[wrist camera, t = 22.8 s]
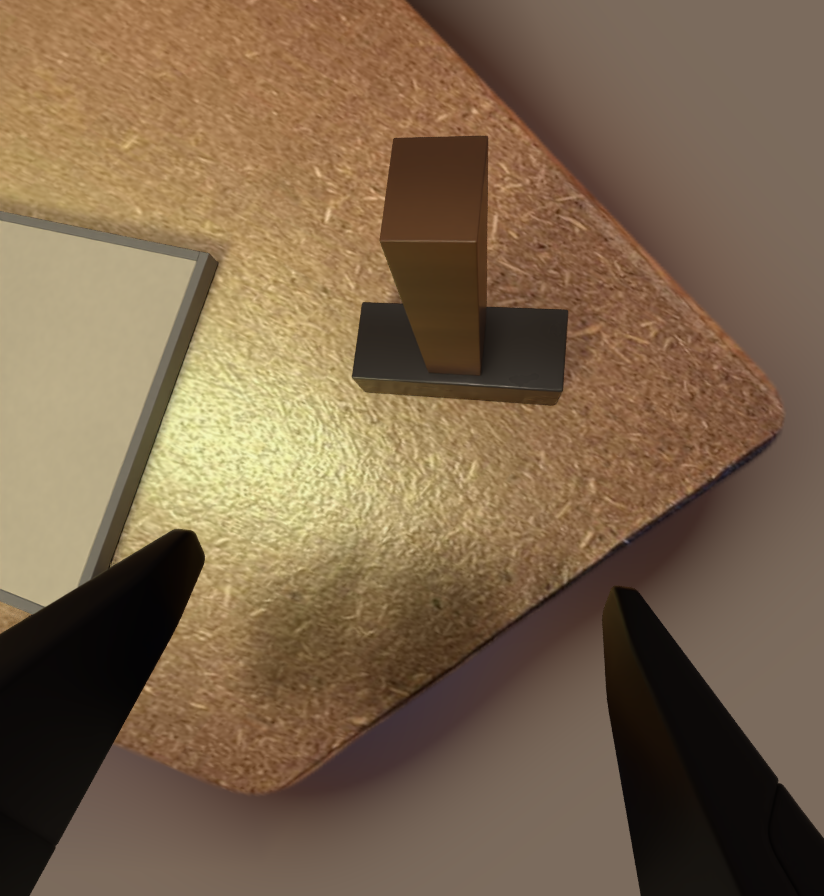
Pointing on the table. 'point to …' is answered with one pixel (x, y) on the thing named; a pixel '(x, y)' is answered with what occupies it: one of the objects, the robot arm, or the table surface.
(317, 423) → the table surface
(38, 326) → the whiteboard
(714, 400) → the table surface
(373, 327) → the brown rubber stamp
